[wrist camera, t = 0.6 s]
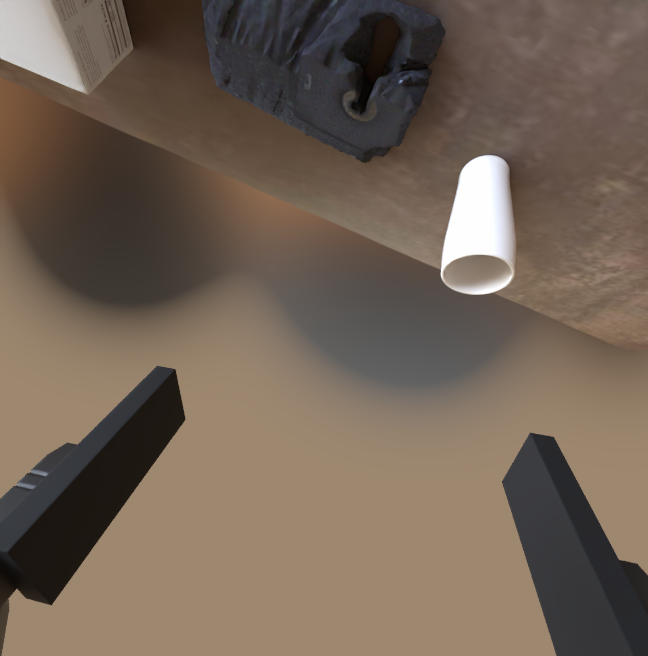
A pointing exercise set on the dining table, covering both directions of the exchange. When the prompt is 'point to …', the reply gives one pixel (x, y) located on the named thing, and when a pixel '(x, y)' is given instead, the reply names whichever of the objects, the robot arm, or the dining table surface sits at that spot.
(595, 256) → the dining table surface
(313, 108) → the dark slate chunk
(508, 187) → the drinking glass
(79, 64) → the supplement box
